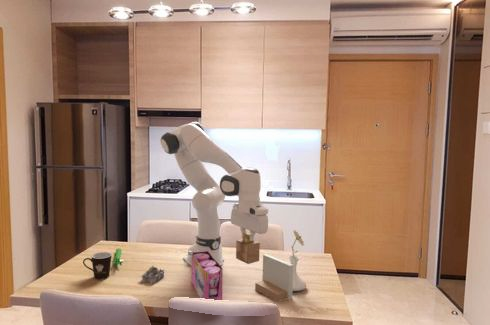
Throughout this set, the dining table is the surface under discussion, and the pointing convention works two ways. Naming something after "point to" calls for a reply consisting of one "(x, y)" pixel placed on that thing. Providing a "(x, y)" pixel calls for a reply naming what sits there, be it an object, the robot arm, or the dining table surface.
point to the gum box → (206, 276)
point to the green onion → (117, 257)
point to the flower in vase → (297, 281)
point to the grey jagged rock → (152, 275)
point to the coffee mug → (100, 264)
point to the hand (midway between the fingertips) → (247, 239)
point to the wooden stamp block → (247, 249)
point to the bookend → (276, 278)
